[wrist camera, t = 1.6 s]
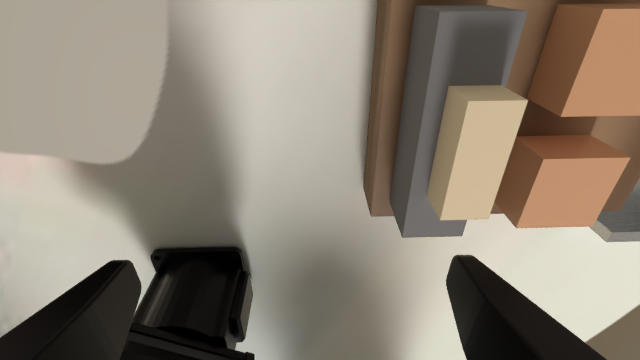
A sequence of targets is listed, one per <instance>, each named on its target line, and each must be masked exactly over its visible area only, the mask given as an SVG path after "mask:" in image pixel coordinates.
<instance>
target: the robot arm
mask: <svg viewBox="0 0 640 360" xmlns="http://www.w3.org/2000/svg"><path fill="white" fill-rule="evenodd" d="M233 253H234V254H236V255H234V254H233ZM157 255H158V256H157ZM151 260H152V263H153V266H154V268H155V271H156V274H155V275H154V277H153V279H152V281H151V283H150V285H149V287H148V289H147V291H146V293H145V295H144V297H143V299H142V301H141V303H140V304H139V306H138V308H137V310H136V307H137V304H138V300H139V297H140V294H141V282H140V280H139V277H138V275H137V272H136V270H135V268H134V265H133V263H132V262H131V261H129V260H113V261H110V262H108V263H107V264H105V265H104V266H102V267H101V268H100V269H98V270H97V271H95V272H94V273H92V274H91V275H89V276H88V277H87V278H85V279H84V280H82V281H81V282H79V283H78V284H77V285H75V286H74V287H72V288H71V289H69V290H68V291H67V292H65V293H64V294H62V295H61V296H59V297H58V298H56V299H55V300H54V301H52V302H51V303H49V304H48V305H46V306H45V307H44V308H42V309H41V310H39V311H38V312H36V313H35V314H34V315H32V316H31V317H29V318H28V319H26V320H25V321H23V322H22V323H21V324H19V325H18V326H16V327H15V328H13V329H12V330H11V331H9V332H8V333H6V334H5V335H3V336H2V337H1V338H0V360H254V354H253V353H249V352H246V353H243V352H240V351H236V350H235V347H236V342H242V341H243V340H244V339H245V336H246V331H247V325H248V319H249V314H250V308H251V302H252V297H253V291H252V286H251V280H250V274H249V272H248V271H245V268H244V262H243V257H242V252H241V250H240V249H239V248H237V247H219V248H178V249H155V250H154V251H153V253H152V254H151ZM446 286H447V290H448V294H449V298H450V302H451V306H452V310H453V313H454V317H455V321H456V325H457V329H458V332H459V336H460V340H461V343H462V347H463V350H464V353H465V356H466V359H467V360H607V359H605V358H604V357H603V356H601V355H600V354H599V353H598V352H596V351H595V350H594V349H592V348H591V347H590V346H589V345H587V344H586V343H585V342H583V341H582V340H581V339H580V338H578V337H577V336H576V335H574V334H573V333H572V332H571V331H569V330H568V329H567V328H565V327H564V326H563V325H562V324H560V323H559V322H558V321H556V320H555V319H554V318H553V317H551V316H550V315H549V314H547V313H546V312H545V311H543V310H542V309H541V308H540V307H538V306H537V305H536V304H534V303H533V302H532V301H531V300H529V299H528V298H527V297H525V296H524V295H523V294H522V293H520V292H519V291H518V290H516V289H515V288H514V287H513V286H511V285H510V284H509V283H507V282H506V281H505V280H504V279H502V278H501V277H500V276H498V275H497V274H496V273H495V272H493V271H492V270H491V269H489V268H488V267H487V266H486V265H484V264H483V263H482V262H480V261H479V260H478V259H477V258H475V257H474V256H472V255H456V256H454V257H453V259H452V262H451V265H450V268H449V271H448V275H447V279H446ZM135 310H136V312H135ZM134 313H135V314H134Z"/></svg>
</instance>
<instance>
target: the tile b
mask: <svg viewBox="0 0 640 360" xmlns="http://www.w3.org/2000/svg"><path fill="white" fill-rule="evenodd" d="M527 99H529V100H531V101H533V102H535V103H536V104H538V105H540V106H542V107H544V108H545V109H547V110H549V111H551V112H553V113H554V114H556V115H558V116H560V117H582V116H640V3H635V4H558V5H557V8H556V11H555V14H554V17H553V20H552V23H551V26H550V29H549V32H548V35H547V38H546V41H545V44H544V47H543V50H542V53H541V56H540V59H539V62H538V65H537V68H536V71H535V74H534V77H533V80H532V84H531V87H530V90H529V93H528V96H527Z"/></svg>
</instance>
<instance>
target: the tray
mask: <svg viewBox="0 0 640 360" xmlns="http://www.w3.org/2000/svg"><path fill="white" fill-rule="evenodd" d="M589 227H590V228H591V229H592V230H593V231H594V232H595V233H597V234H598V235H599V236H600V237H601V238H602V239H603V240H604V241H606V242H628V241H640V178H639V180H638V182H637V183H636V185H635V187H634V188H633V190H632V192H631V193H630V195H629V197H628V198H627V200H626V202H625V203H624V205H623V207H622V209H621V210H620V211H601V212H600V214H599V216H598V218H597V219H596V221H595V223H594V225H593V226H589Z"/></svg>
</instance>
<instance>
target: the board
mask: <svg viewBox="0 0 640 360" xmlns="http://www.w3.org/2000/svg"><path fill="white" fill-rule="evenodd" d="M635 3H640V0H378V9H377V22H376V35H375V48H374V61H373V74H372V87H371V100H370V113H369V126H368V139H367V152H366V165H365V178H364V192H365V196H366V199H367V203H368V207H369V211H370V215H371V216H394V213H393V210H392V207H391V205H390V196H391V188H392V180H393V173H394V165H395V157H396V150H397V142H398V134H399V126H400V119H401V111H402V103H403V96H404V88H405V80H406V73H407V65H408V57H409V50H410V42H411V34H412V27H413V19H414V11H415V5H492V6H498V7H505V8H512V9H518V10H525V11H528V12H527V16H526V19H525V23H524V26H523V29H522V33H521V36H520V40H519V43H518V47H517V50H516V53H515V57H514V60H513V64H512V67H511V71H510V74H509V77H508V81H507V84H506V88H507V89H509V90H511V91H512V92H514V93H516V94H518V95H520V96H521V97H523V98H525V99H527V96H528V93H529V90H530V87H531V84H532V80H533V77H534V74H535V71H536V68H537V65H538V62H539V59H540V56H541V53H542V50H543V47H544V44H545V41H546V38H547V35H548V32H549V29H550V26H551V23H552V20H553V17H554V14H555V11H556V8H557V5H558V4H635ZM527 100H528V102H527V105H526V108H525V111H524V114H523V117H522V120H521V123H520V126H519V129H518V132H517V135H516V136H562V135H591V136H593V137H595V138H597V139H598V140H600V141H602V142H604V143H606V144H607V145H609V146H611V147H613V148H615V149H616V150H618V151H620V152H622V153H623V154H625V155H627V156H629V157H631V158H630V160H629V162H628V163H627V165H626V167H625V169H624V171H623V172H622V174H621V176H620V178H619V180H618V181H617V183H616V185H615V187H614V189H613V190H612V192H611V194H610V196H609V198H608V199H607V201H606V203H605V205H604V207H603V208H602V210H601V211H620V210H621V209H622V207H623V205H624V203H625V202H626V200H627V198H628V197H629V195H630V193H631V192H632V190H633V188H634V187H635V185H636V183H637V182H638V180H639V178H640V116H582V117H560V116H558V115H556V114H554V113H553V112H551V111H549V110H547V109H545V108H544V107H542V106H540V105H538V104H536V103H535V102H533V101H531V100H529V99H527ZM490 214H503V212H502V210H501V209H500V208H499V207H498V206H497V204H496V203H495V202H494V204H493V207H492V210H491V213H490Z"/></svg>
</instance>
